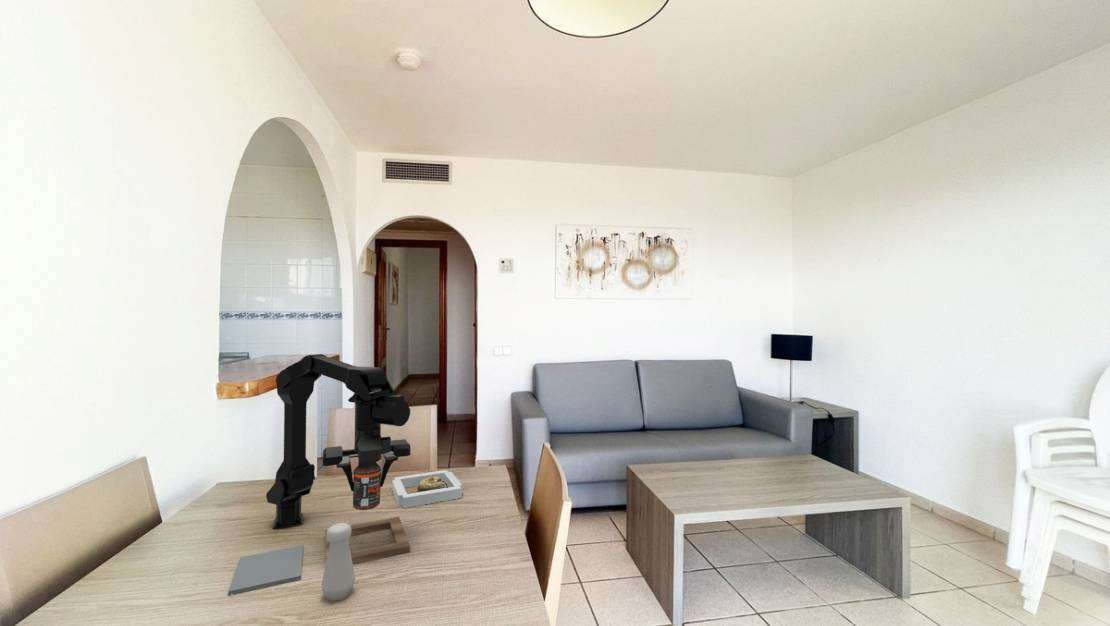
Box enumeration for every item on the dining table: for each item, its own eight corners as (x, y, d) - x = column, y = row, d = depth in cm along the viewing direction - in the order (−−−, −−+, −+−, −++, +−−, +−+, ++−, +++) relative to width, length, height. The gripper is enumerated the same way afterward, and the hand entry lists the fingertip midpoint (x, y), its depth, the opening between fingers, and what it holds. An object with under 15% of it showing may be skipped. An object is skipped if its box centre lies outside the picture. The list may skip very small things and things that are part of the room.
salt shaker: (329, 586, 89) (329, 519, 89) (359, 584, 89) (360, 518, 90) (315, 604, 83) (316, 533, 83) (348, 603, 84) (349, 532, 84)
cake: (420, 503, 132) (419, 485, 131) (412, 492, 140) (411, 475, 140) (453, 494, 137) (452, 476, 137) (443, 484, 145) (442, 467, 145)
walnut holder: (325, 535, 110) (325, 529, 110) (398, 522, 117) (399, 516, 117) (325, 570, 94) (325, 563, 95) (409, 552, 102) (410, 545, 102)
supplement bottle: (370, 512, 103) (371, 462, 103) (347, 510, 104) (347, 460, 104) (385, 502, 108) (386, 454, 109) (363, 500, 110) (363, 453, 110)
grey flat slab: (240, 560, 98) (240, 557, 98) (303, 548, 104) (303, 544, 104) (227, 595, 86) (228, 591, 86) (300, 579, 91) (300, 575, 91)
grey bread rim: (390, 487, 142) (391, 477, 142) (449, 478, 150) (449, 469, 150) (399, 509, 125) (399, 498, 125) (464, 497, 134) (464, 487, 134)
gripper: (323, 433, 95) (322, 508, 95) (415, 425, 104) (414, 493, 103) (323, 423, 105) (322, 490, 105) (407, 415, 113) (406, 478, 113)
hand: (367, 488), depth 106 cm, fingers closed on supplement bottle, 6 cm apart
